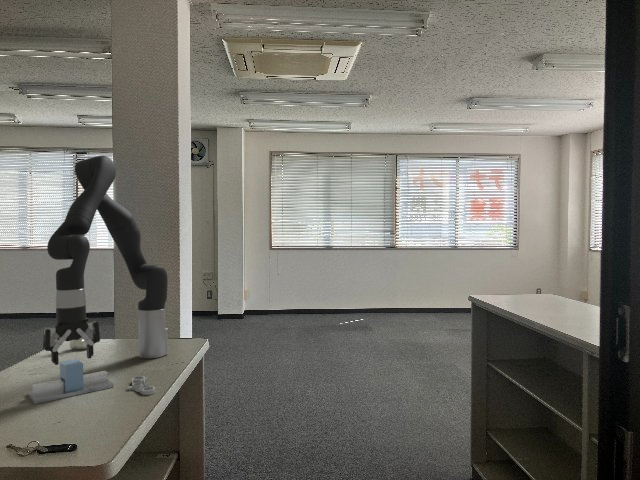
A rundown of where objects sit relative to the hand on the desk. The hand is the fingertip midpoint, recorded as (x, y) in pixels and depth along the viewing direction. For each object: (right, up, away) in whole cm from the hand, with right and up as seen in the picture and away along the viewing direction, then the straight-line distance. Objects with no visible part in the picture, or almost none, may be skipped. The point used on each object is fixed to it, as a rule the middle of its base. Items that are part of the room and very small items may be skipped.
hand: (73, 361), depth 133 cm
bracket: (+19, -9, +2) cm, 21 cm away
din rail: (0, -9, 0) cm, 9 cm away
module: (0, -8, 0) cm, 8 cm away
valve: (-23, -8, +48) cm, 54 cm away
